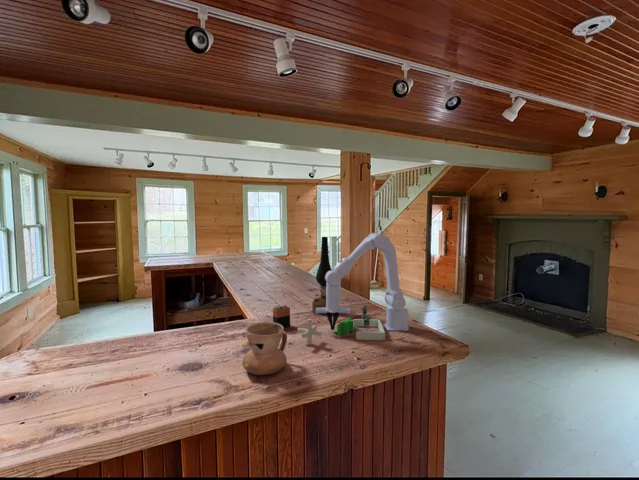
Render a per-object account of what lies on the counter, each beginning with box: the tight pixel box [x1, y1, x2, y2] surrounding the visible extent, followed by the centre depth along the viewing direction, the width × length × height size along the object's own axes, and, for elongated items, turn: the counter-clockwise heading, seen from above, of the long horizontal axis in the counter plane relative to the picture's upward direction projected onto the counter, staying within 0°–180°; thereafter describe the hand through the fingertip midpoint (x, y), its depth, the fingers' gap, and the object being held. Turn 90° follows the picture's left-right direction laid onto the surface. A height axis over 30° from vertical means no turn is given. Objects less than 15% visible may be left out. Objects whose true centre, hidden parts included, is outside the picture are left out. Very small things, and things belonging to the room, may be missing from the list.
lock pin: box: [362, 305, 368, 321], centre depth 153 cm, size 8×2×5 cm, turn 178°
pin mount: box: [360, 313, 372, 326], centre depth 150 cm, size 3×4×4 cm
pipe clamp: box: [336, 317, 355, 336], centre depth 140 cm, size 11×4×5 cm, turn 147°
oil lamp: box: [311, 236, 333, 316], centre depth 168 cm, size 14×15×40 cm
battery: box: [272, 304, 291, 329], centre depth 145 cm, size 4×7×10 cm, turn 125°
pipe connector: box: [296, 318, 323, 346], centre depth 127 cm, size 10×10×10 cm
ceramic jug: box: [240, 321, 288, 376], centre depth 107 cm, size 18×14×14 cm
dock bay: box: [353, 318, 386, 341], centre depth 139 cm, size 12×16×3 cm
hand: (332, 329), depth 140 cm, fingers closed
